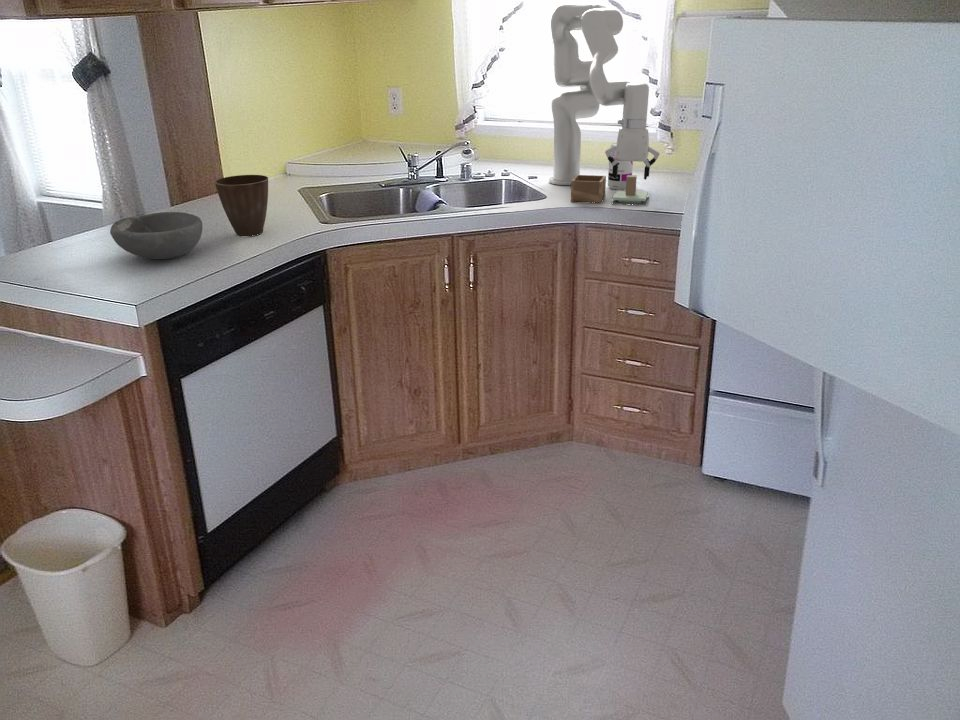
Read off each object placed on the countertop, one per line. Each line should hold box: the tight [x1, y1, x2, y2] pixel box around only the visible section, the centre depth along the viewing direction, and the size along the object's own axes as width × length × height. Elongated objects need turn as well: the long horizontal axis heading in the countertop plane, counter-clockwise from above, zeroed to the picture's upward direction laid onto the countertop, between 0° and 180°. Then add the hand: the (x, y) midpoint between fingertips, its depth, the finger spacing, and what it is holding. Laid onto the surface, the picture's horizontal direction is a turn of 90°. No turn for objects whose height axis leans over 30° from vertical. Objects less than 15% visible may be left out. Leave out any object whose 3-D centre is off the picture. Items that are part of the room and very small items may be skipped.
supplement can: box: [607, 142, 634, 191], centre depth 284 cm, size 8×8×15 cm
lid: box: [612, 174, 649, 203], centre depth 266 cm, size 10×10×8 cm
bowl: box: [109, 211, 203, 260], centre depth 219 cm, size 23×22×10 cm
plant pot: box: [214, 174, 269, 237], centre depth 237 cm, size 15×15×16 cm
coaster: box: [611, 196, 650, 206], centre depth 268 cm, size 11×11×1 cm
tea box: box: [570, 174, 607, 204], centre depth 270 cm, size 10×10×7 cm
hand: (630, 177), depth 266 cm, fingers open, 9 cm apart
